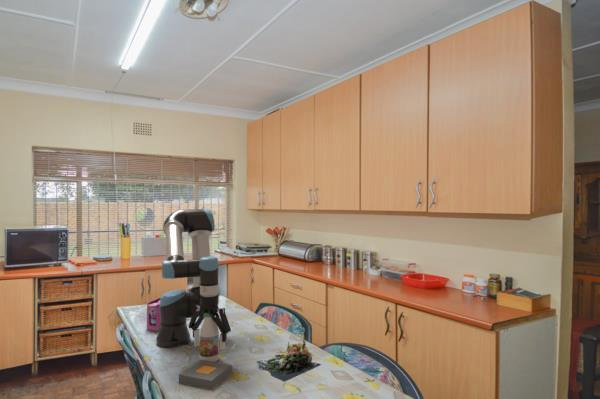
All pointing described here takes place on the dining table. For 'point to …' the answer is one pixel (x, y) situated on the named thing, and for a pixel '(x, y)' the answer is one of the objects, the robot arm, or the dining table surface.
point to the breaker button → (206, 369)
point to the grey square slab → (204, 379)
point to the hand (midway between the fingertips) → (209, 347)
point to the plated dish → (289, 362)
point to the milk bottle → (209, 340)
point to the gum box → (153, 315)
